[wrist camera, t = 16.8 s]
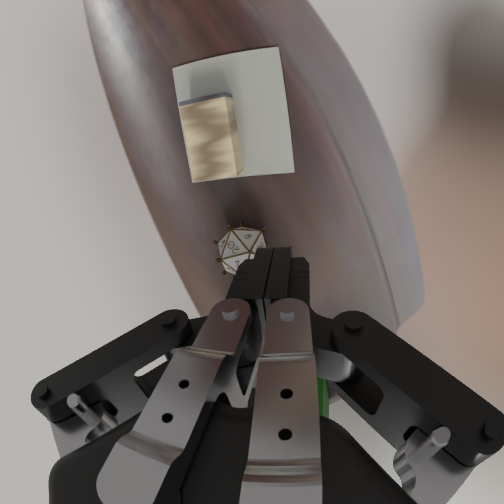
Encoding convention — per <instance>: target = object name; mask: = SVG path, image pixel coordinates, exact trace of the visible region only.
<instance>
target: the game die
mask: <svg viewBox="0 0 504 504" xmlns="http://www.w3.org/2000/svg"><path fill="white" fill-rule="evenodd" d="M239 225H240V227H237V228H233V229H232V227H231V225H229V224H228V227H227V228H228V229H230V230H229V231H228V232H227V233H226V234H225V235H224V236H223V237H222V238H221V239H220V241H219V242H217V241H212V242H213V243H214V244H217V246H218V252H219V258H220V259H219V258H218V259H216V261H215V262H217V263H218V262H220V261H221V263H222V265H223V267H224V269H225V271H223V272H222V275H225V274H226V272H229V273H231V274H234V275H236V271H237V268H238V266H239V265H240V264H241V263H242V262H243V261H244V260H245V259H254V255H255V252H256V249H257V248H263V247H267V243H266V242H265V238H264V235H263V231H264V230H265V229H266V226H264V227H262V229H261V230H258V229H253V228H247V227H242V226H243V223H241V222H240V223H239Z"/></svg>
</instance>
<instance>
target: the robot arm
mask: <svg viewBox="0 0 504 504" xmlns="http://www.w3.org/2000/svg"><path fill="white" fill-rule="evenodd" d="M162 355H165V357H166V358H167V361H166V362H164V363H162V364H161V365H159V366H158V367H156V368H154V369H153V370H151V371H149V372H148V373H146V374H144V375H143V376H139V377H137V376H134V374H135V372H136V371H137V370H139V369H141V368H142V367H144V366H146V365H147V364H149V363H151V362H152V361H154V360H156V359H157V358H159V357H160V356H162ZM317 377H319V378H322V379H326V380H327V383H328V385H329V386H330V387H331V388H332V389H333V390H334V391H335V392H336V393H337V394H338V395H339V396H340V397H341V398H342V399H343V400H344V401H345V402H346V403H347V404H348V405H349V406H350V407H351V408H352V409H354V410H355V411H356V412H357V413H358V414H359V415H360V416H361V417H362V418H363V419H364V420H365V421H366V422H367V423H368V424H369V425H370V426H371V427H372V428H373V429H374V430H376V431H377V432H378V433H379V434H380V435H381V436H382V437H383V438H384V439H385V440H386V441H387V442H389V443H390V444H391V445H392V446H393V447H394V448H395V449H396V450H397V452H396V453H395V456H394V459H393V466H394V470H395V472H396V473H397V474H398V476H399V477H400V479H401V482H402V488H401V487H400V486H399V485H398V484H397V483H396V482H395V481H394V480H393V479H392V478H391V477H390V476H389V475H388V474H387V473H386V472H385V471H384V470H383V468H382V467H381V466H380V465H379V464H378V463H377V462H376V461H375V460H374V459H373V458H372V457H371V456H370V455H369V454H368V453H367V452H366V451H365V450H364V449H363V448H362V446H361V445H360V444H359V443H358V442H357V441H356V440H355V439H354V438H353V437H352V436H351V435H350V433H349V432H348V431H347V430H346V429H344V428H343V427H342V426H341V425H339V424H338V423H336V422H335V421H333V420H331V419H329V418H327V417H324V416H321V415H319V404H318V388H317ZM31 402H32V404H33V406H34V407H35V408H36V409H37V410H38V411H40V412H41V413H42V414H43V415H44V416H45V417H46V418H47V420H48V421H50V423H51V427H52V431H53V435H54V438H55V441H56V445H57V448H58V451H59V454H60V457H61V458H60V459H59V460H58V461H57V462H56V463H55V464H54V466H53V468H52V470H51V472H50V476H49V504H446V503H447V502H448V501H449V499H450V498H451V497H452V496H453V495H454V494H455V493H456V491H457V490H458V489H459V488H460V486H461V485H462V484H463V483H464V481H465V480H466V478H467V477H468V476H469V475H470V473H471V472H472V470H473V469H474V468H475V467H476V466H477V465H478V464H480V463H481V462H483V461H484V460H486V459H487V458H489V457H490V456H492V455H493V454H495V453H496V452H497V451H499V450H500V449H501V448H502V447H503V445H504V414H503V413H502V412H501V411H499V410H498V409H497V408H495V407H494V406H493V405H491V404H490V403H489V402H487V401H486V400H485V399H483V398H482V397H481V396H479V395H478V394H477V393H475V392H474V391H473V390H471V389H470V388H469V387H467V386H466V385H465V384H463V383H462V382H460V381H459V380H457V379H456V378H455V377H454V376H452V375H451V374H449V373H448V372H447V371H445V370H444V369H443V368H441V367H440V366H438V365H437V364H436V363H434V362H433V361H432V360H430V359H429V358H428V357H426V356H425V355H423V354H422V353H421V352H419V351H418V350H416V349H415V348H414V347H412V346H411V345H409V344H408V343H407V342H405V341H404V340H403V339H401V338H400V337H398V336H397V335H395V334H394V333H393V332H391V331H390V330H388V329H387V328H386V327H384V326H383V325H381V324H380V323H379V322H377V321H376V320H374V319H373V318H371V317H370V316H369V315H367V314H365V313H363V312H359V311H346V312H343V313H341V314H339V315H337V316H336V317H335V318H334V319H329V318H325V317H322V316H320V315H318V314H316V313H315V312H314V311H313V310H312V309H311V307H310V280H309V263H308V262H307V260H306V259H305V258H304V257H298V258H293V253H292V246H288V247H275V248H274V247H263V248H257V249H256V252H255V255H254V259H245V260H244V261H243V262H242V263H241V264H240V265H239V266H238V268H237V271H236V275H235V276H234V278H233V281H232V283H231V286H230V289H229V291H228V294H227V296H226V299H225V300H223V301H220V302H219V303H217V304H216V305H215V306H214V307H213V308H212V309H211V311H210V313H209V315H208V316H205V317H200V318H195V319H188V316H187V314H186V313H185V312H184V311H182V310H177V309H172V310H167V311H165V312H162V313H160V314H159V315H157V316H155V317H153V318H152V319H150V320H148V321H146V322H145V323H143V324H141V325H139V326H138V327H136V328H134V329H132V330H131V331H129V332H127V333H125V334H123V335H122V336H120V337H118V338H116V339H115V340H113V341H111V342H109V343H108V344H106V345H104V346H102V347H101V348H99V349H97V350H95V351H93V352H92V353H90V354H88V355H86V356H84V357H83V358H81V359H79V360H77V361H75V362H74V363H72V364H70V365H68V366H66V367H65V368H63V369H61V370H59V371H57V372H56V373H54V374H52V375H50V376H48V377H47V378H45V379H43V380H41V381H40V382H38V384H37V385H36V386H35V387H34V389H33V391H32V394H31Z"/></svg>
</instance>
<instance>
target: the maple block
mask: <svg viewBox="0 0 504 504" xmlns="http://www.w3.org/2000/svg"><path fill="white" fill-rule="evenodd" d="M179 106H180V112H181V117H182V123H183V129H184V134H185V140H186V145H187V150H188V156H189V161H190V166H191V171H192V176H193V181H194V182H196V181H204V180H212V179H220V178H229V177H237V176H238V175H239V174H240V173H241V172H242V171H243V170H244V169H243V163H242V156H241V150H240V143H239V136H238V130H237V123H236V117H235V110H234V103H233V97H232V94H230V93H226V92H222V93H217V94H212V95H207V96H203V97H198V98H194V99H190V100H185V101H181V102H179Z"/></svg>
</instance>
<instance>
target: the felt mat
mask: <svg viewBox="0 0 504 504" xmlns="http://www.w3.org/2000/svg"><path fill="white" fill-rule="evenodd" d="M172 70H173V76H174V83H175V89H176V96H177V102H178V108H179V114H180V119H181V125H182V131H183V136H184V142H185V147H186V152H187V157H188V163H189V168H190V173H191V178H192V182H193V183H194V181H193V176H192V171H191V166H190V161H189V156H188V150H187V145H186V140H185V134H184V129H183V123H182V117H181V112H180V106H179V102H181V101H185V100H190V99H194V98H198V97H203V96H207V95H212V94H217V93H222V92H226V93H230V94H232V97H233V103H234V110H235V117H236V123H237V130H238V136H239V143H240V150H241V156H242V163H243V169H244V170H243V171H242V172H241V173H240V174H239V175H238V176H237V177H245V176H255V175H267V174H280V173H295V170H294V160H293V150H292V141H291V132H290V124H289V116H288V108H287V100H286V93H285V86H284V79H283V72H282V66H281V59H280V53H279V47H271V48H263V49H256V50H249V51H243V52H237V53H232V54H227V55H222V56H217V57H213V58H208V59H204V60H200V61H196V62H192V63H189V64H185V65H182V66H178V67H175V68H172ZM229 178H235V177H229ZM220 179H226V178H220ZM212 180H217V179H212ZM204 181H209V180H204ZM196 182H201V181H196Z"/></svg>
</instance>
